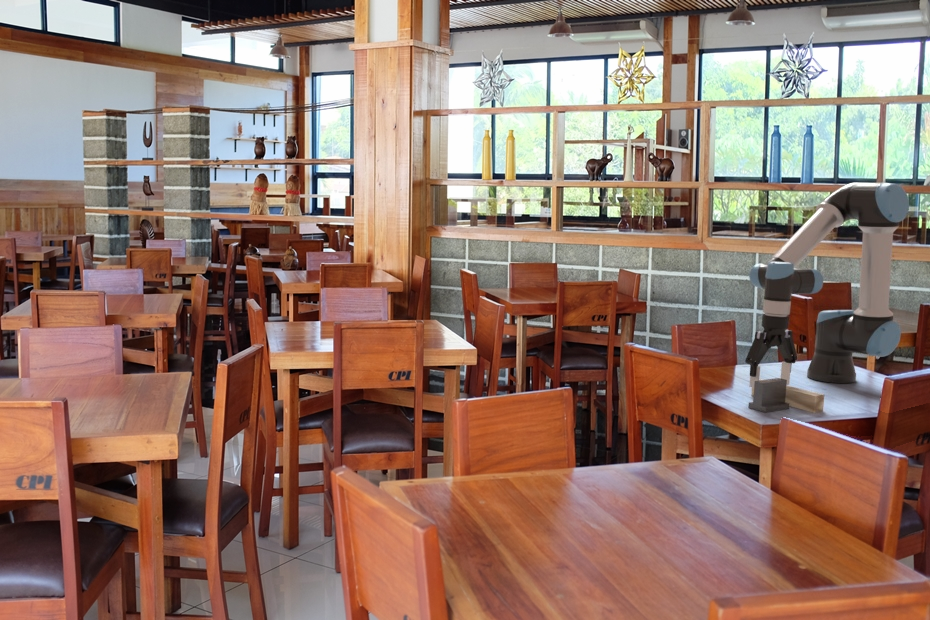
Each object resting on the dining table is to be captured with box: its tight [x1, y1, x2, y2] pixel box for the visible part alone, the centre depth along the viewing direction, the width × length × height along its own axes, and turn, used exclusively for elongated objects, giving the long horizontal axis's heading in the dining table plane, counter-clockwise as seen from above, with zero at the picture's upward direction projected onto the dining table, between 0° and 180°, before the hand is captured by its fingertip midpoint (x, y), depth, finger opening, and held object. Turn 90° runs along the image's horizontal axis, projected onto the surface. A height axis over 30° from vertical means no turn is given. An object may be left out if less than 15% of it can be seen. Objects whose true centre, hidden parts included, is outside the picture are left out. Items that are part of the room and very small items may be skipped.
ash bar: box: [751, 378, 825, 413], centre depth 264 cm, size 4×22×5 cm, turn 32°
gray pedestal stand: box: [747, 377, 790, 414], centre depth 257 cm, size 10×6×8 cm, turn 122°
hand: (769, 385), depth 269 cm, fingers open, 13 cm apart
